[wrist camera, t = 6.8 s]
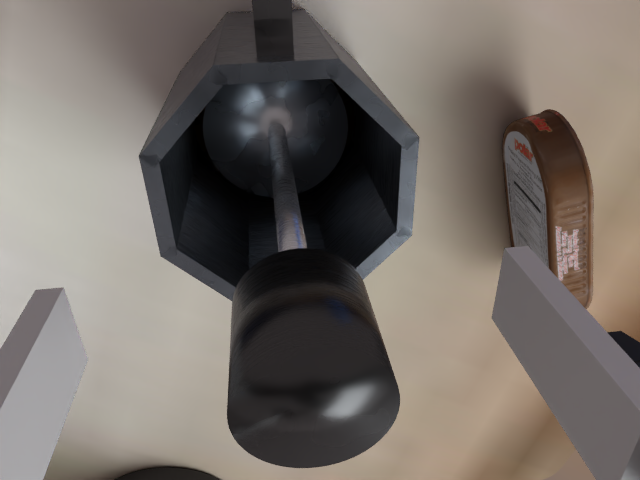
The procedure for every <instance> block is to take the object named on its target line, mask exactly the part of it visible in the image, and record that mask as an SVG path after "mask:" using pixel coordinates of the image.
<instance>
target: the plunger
mask: <svg viewBox="0 0 640 480" xmlns="http://www.w3.org/2000/svg"><path fill="white" fill-rule="evenodd" d="M347 135H348V119H347V114H346V109H345V106H344V103H343V100H342V98H341V96H340V94H339V92H338V91H337V89H336V87H335V86H334V84H333V83H332V81H331V80H330V79H315V80H297V81H279V82H261V83H243V84H224V85H223V86H222V87H221V88H220V89H219V91H218V92H217V93H216V94H215V95H214V97H213V98H212V99H211V100H210V101H209V103H208V104H207V105H206V107H205V112H204V117H203V137H204V141H205V146H206V148H207V151H208V154H209V156H210V158H211V160H212V162H213V163H214V165H215V166H216V168H217V169H218V170H219V171H220V172H221V174H222V175H223V176H224V177H225V178H227V179H228V180H229V181H230V182H231V183H233V184H234V185H236V186H237V187H239V188H241V189H243V190H245V191H247V192H250V193H253V194H256V195H261V196H267V197H274V208H275V219H276V230H277V241H278V251H279V252H277V253H275V254H272V255H270V256H268V257H266V258H264V259H262V260H260V261H259V262H257V263H256V264H254V265H253V266H252V267H251V268H250V269H249V270H248V271H247V272H246V273H245V274H244V275H243V277H242V278H241V280H240V281H239V283H238V285H237V287H236V289H235V292H234V295H233V301H232V318H231V340H230V362H229V384H228V405H227V419H228V425H229V429H230V431H231V433H232V435H233V437H234V439H235V440H236V441H237V443H238V444H239V445H240V446H241V447H242V448H243V449H244V450H246V451H247V452H248V453H250V454H251V455H253V456H255V457H256V458H258V459H261V460H263V461H265V462H268V463H271V464H275V465H279V466H284V467H293V468H312V467H321V466H327V465H331V464H336V463H339V462H342V461H345V460H348V459H350V458H352V457H355V456H357V455H359V454H361V453H362V452H364V451H366V450H367V449H369V448H370V447H372V446H373V445H375V444H376V443H377V442H378V441H379V440H380V439H381V438H382V437H383V436H384V435H385V434H386V433H387V432H388V430H389V429H390V428H391V426H392V425H393V423H394V421H395V419H396V417H397V414H398V411H399V405H400V394H399V389H398V385H397V382H396V379H395V376H394V373H393V370H392V367H391V364H390V361H389V358H388V355H387V352H386V349H385V346H384V342H383V339H382V336H381V333H380V330H379V327H378V324H377V321H376V318H375V315H374V312H373V309H372V306H371V303H370V300H369V297H368V294H367V290H366V287H365V285H364V282H363V280H362V278H361V276H360V274H359V273H358V272H357V270H356V269H355V268H354V267H353V266H352V265H351V264H350V263H349V262H347V261H346V260H344V259H343V258H341V257H339V256H337V255H335V254H333V253H330V252H327V251H324V250H319V249H311V248H307V245H306V240H305V234H304V229H303V223H302V218H301V212H300V207H299V201H298V196H297V194H299V193H301V192H304V191H306V190H308V189H310V188H312V187H314V186H316V185H317V184H318V183H320V182H321V181H322V180H324V179H325V178H326V177H327V176H328V175H329V174H330V173H331V172H332V170H333V169H334V168H335V166H336V165H337V163H338V162H339V160H340V158H341V156H342V154H343V151H344V148H345V146H346V141H347Z"/></svg>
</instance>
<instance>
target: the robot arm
mask: <svg viewBox="0 0 640 480" xmlns="http://www.w3.org/2000/svg"><path fill="white" fill-rule="evenodd" d="M492 319H493V321H494V322H495V324H496V325H497V327H498V329H499V330H500V332H501V333H502V335H503V336H504V338H505V339H506V341H507V342H508V344H509V346H510V347H511V349H512V350H513V352H514V353H515V355H516V356H517V358H518V360H519V361H520V363H521V364H522V366H523V367H524V369H525V370H526V372H527V374H528V375H529V377H530V378H531V380H532V381H533V383H534V384H535V386H536V387H537V389H538V391H539V392H540V394H541V395H542V397H543V398H544V400H545V401H546V403H547V405H548V406H549V408H550V409H551V411H552V412H553V414H554V415H555V417H556V418H557V420H558V422H559V423H560V425H561V426H562V428H563V429H564V431H565V432H566V434H567V436H568V437H569V439H570V440H571V442H572V443H573V445H574V446H575V448H576V450H577V451H578V453H579V454H580V456H581V457H582V459H583V460H584V461H585V463H586V465H587V467H588V468H589V470H590V471H591V473H592V474H593V476H594V477H595V479H596V480H640V342H638V341H636V340H635V339H633V338H631V337H630V336H628V335H627V334H625V333H623V332H622V331H617V332H606V331H605V330H604V328H603V327H602V326H601V325H600V324H599V323H598V322H597V321H596V320H595V319H594V318H593V316H592V315H591V314H590V313H589V312H588V311H587V310H586V309H585V308H584V307H583V305H582V304H581V303H580V302H579V301H578V300H577V299H576V298H575V297H574V296H573V295H572V293H571V292H570V291H569V290H568V289H567V288H566V287H565V286H564V285H563V284H562V282H561V281H560V280H559V279H558V278H557V277H556V276H555V275H554V274H553V273H552V272H551V270H550V269H549V268H548V267H547V266H546V265H545V264H544V263H543V262H542V261H541V259H540V258H539V257H538V256H537V255H536V254H535V253H534V252H533V251H532V250H531V249H530V247H529V246H521V247H510V248H504V253H503V258H502V264H501V270H500V275H499V281H498V286H497V292H496V297H495V303H494V308H493V314H492ZM87 361H88V358H87V355H86V352H85V349H84V346H83V343H82V340H81V337H80V334H79V331H78V328H77V325H76V322H75V319H74V316H73V314H72V311H71V308H70V305H69V302H68V299H67V296H66V293H65V290H64V288H53V289H42V290H35V292H34V294H33V295H32V297H31V299H30V300H29V302H28V304H27V305H26V307H25V309H24V310H23V312H22V314H21V315H20V317H19V319H18V321H17V322H16V324H15V326H14V327H13V329H12V331H11V332H10V334H9V336H8V337H7V339H6V341H5V342H4V344H3V346H2V347H1V349H0V480H43V479H44V476H45V473H46V471H47V468H48V465H49V463H50V460H51V457H52V455H53V452H54V449H55V447H56V444H57V441H58V439H59V436H60V433H61V430H62V428H63V425H64V422H65V420H66V417H67V414H68V412H69V409H70V406H71V404H72V401H73V398H74V396H75V393H76V390H77V388H78V385H79V382H80V380H81V377H82V374H83V372H84V369H85V366H86V364H87ZM116 480H219V479H217V478H215V477H213V476H211V475H208V474H205V473H202V472H199V471H195V470H190V469H183V468H153V469H146V470H141V471H137V472H133V473H130V474H127V475H124V476H122V477H120V478H118V479H116Z"/></svg>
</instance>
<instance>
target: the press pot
mask: <svg viewBox="0 0 640 480" xmlns="http://www.w3.org/2000/svg"><path fill="white" fill-rule="evenodd" d="M252 5H253V12H230V13H228V12H227V13H226V15H225V16H224V17H223V19H222V20H221V21H220V22H219V24H218V25H217V26H216V27H215V29H214V30H213V31H212V32H211V34H210V35H209V36H208V37H207V39H206V40H205V41H204V43H203V44H202V45H201V46H200V48H199V49H198V50H197V51H196V53H195V54H194V55H193V56H192V58H191V59H190V60H189V62H188V63H187V64H186V65H185V67H184V68H183V69H182V70H181V71H180V73H179V75H178V77H177V79H176V81H175V83H174V85H173V87H172V89H171V91H170V93H169V95H168V97H167V99H166V101H165V104H164V106H163V108H162V110H161V112H160V114H159V116H158V118H157V120H156V122H155V124H154V126H153V128H152V130H151V132H150V134H149V136H148V138H147V140H146V142H145V144H144V146H143V148H142V150H141V152H140V154H139V159H140V163H141V168H142V172H143V177H144V182H145V186H146V191H147V195H148V200H149V205H150V209H151V214H152V218H153V223H154V227H155V232H156V237H157V241H158V246H159V250H160V255H161V257H163V258H164V259H166V260H168V261H169V262H171V263H172V264H174V265H176V266H177V267H179V268H180V269H182V270H184V271H185V272H187V273H188V274H190V275H192V276H193V277H195V278H196V279H198V280H199V281H201V282H203V283H204V284H206V285H207V286H209V287H211V288H212V289H214V290H215V291H217V292H219V293H220V294H222V295H223V296H225V297H226V298H228V299H230V300H231V301H233V295H234V292H235V289H236V287H237V285H238V283H239V281H240V280H241V278H242V277H243V275H244V274H245V273H246V272H247V271H248V270H249V269H250V268H251V267H252V266H253V265H254V264H256V263H257V262H259V261H260V260H262V259H264V258H266V257H268V256H270V255H272V254H275V253H277V252H279V251H278V241H277V230H276V219H275V208H274V197H267V196H261V195H256V194H253V193H250V192H247V191H245V190H243V189H241V188H239V187H237V186H236V185H234V184H233V183H231V182H230V181H229V180H228V179H227V178H225V177H224V176H223V175H222V174H221V172H220V171H219V170H218V169H217V168H216V166H215V165H214V163H213V162H212V160H211V158H210V156H209V154H208V151H207V148H206V146H205V141H204V137H203V117H204V112H205V107H206V105H207V104H208V103H209V101H210V100H211V99H212V98H213V97H214V95H215V94H216V93H217V92H218V91H219V89H220V88H221V87H222V86H223V85H224V84H243V83H261V82H279V81H297V80H315V79H330V80H331V81H332V83H333V84H334V86H335V87H336V89H337V91H338V92H339V94H340V96H341V98H342V100H343V103H344V106H345V109H346V114H347V119H348V135H347V141H346V146H345V148H344V151H343V154H342V156H341V158H340V160H339V162H338V163H337V165H336V166H335V168H334V169H333V170H332V172H331V173H330V174H329V175H328V176H327V177H326V178H325V179H324V180H322V181H321V182H320V183H318V184H317V185H316V186H314V187H312V188H310V189H308V190H306V191H304V192H301V193H299V194H297V196H298V201H299V207H300V212H301V218H302V223H303V229H304V234H305V240H306V245H307V248H311V249H319V250H324V251H327V252H330V253H333V254H335V255H337V256H339V257H341V258H343V259H344V260H346V261H347V262H349V263H350V264H351V265H352V266H353V267H354V268H355V269H356V270H357V272H358V273H359V274H360V276H361V278H362V280H363V279H364V278H365V277H366V276H367V275H368V274H370V273H371V272H372V271H373V270H374V269H375V268H376V267H377V266H378V265H380V264H381V263H382V262H383V261H384V260H385V259H386V258H387V257H388V256H389V255H391V254H392V253H393V252H394V251H395V250H396V249H397V248H398V247H399V246H401V245H402V244H403V243H404V242H405V241H406V240H407V239H408V238H409V237H411V236H412V225H413V212H414V199H415V186H416V173H417V160H418V147H419V136H418V135H417V134H416V133H415V131H414V130H413V129H412V128H411V127H410V125H409V124H408V123H407V122H406V121H405V119H404V118H403V117H402V116H401V115H400V113H399V112H398V111H397V110H396V108H395V107H394V106H393V105H392V104H391V102H390V101H389V100H388V99H387V98H386V96H385V95H384V94H383V93H382V92H381V90H380V89H379V88H378V87H377V85H376V84H375V83H374V82H373V81H372V79H371V78H370V77H369V76H368V75H367V73H366V72H365V71H364V70H363V69H362V67H361V66H360V65H359V64H358V62H356V61H355V60H354V59H353V58H352V57H351V56H350V55H349V54H348V53H347V52H346V51H345V50H344V49H343V48H342V47H341V46H340V45H339V44H338V43H337V42H336V41H335V40H334V39H333V38H332V37H331V36H330V35H329V34H328V33H327V32H326V31H325V30H324V29H323V28H322V27H321V26H320V25H319V24H318V23H317V22H316V21H315V20H314V19H313V18H312V17H311V15H310V14H309V13H308V12H307V11H306V10H305V9H299V10H292V3H291V0H252Z"/></svg>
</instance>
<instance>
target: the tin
mask: <svg viewBox="0 0 640 480" xmlns="http://www.w3.org/2000/svg"><path fill="white" fill-rule="evenodd" d="M502 152H503V165H504V176H505V188H506V199H507V209H508V219H509V228H510V237H511V243H512V247H521V246H529V247H530V249H531V250H532V251H533V252H534V253H535V254H536V255H537V256H538V257H539V258H540V259H541V261H542V262H543V263H544V264H545V265H546V266H547V267H548V268H549V269H550V270H551V272H552V273H553V274H554V275H555V276H556V277H557V278H558V279H559V280H560V281H561V282H562V284H563V285H564V286H565V287H566V288H567V289H568V290H569V291H570V292H571V293H572V295H573V296H574V297H575V298H576V299H577V300H578V301H579V302H580V303H581V304H582V305H583V307H584V308H585V309H587V308H588V307H589V306H590V303H591V301H592V296H593V210H594V200H593V186H592V180H591V174H590V170H589V166H588V163H587V159H586V156H585V153H584V150H583V148H582V145H581V143H580V141H579V139H578V137H577V135H576V133H575V131H574V129H573V128H572V127H571V125H570V124H569V122H568V121H567V120H566V119H565V118H564V116H563V115H561V114H560V113H559V112H557V111H555V110H550V109H549V110H545V111H543V112H541V113H540V114H536V115H532V116H529V117H525V118H522V119H519V120H516V121H514V122H512V123H511V124H510V125H509V126H508V127H507V128H506V130H505V133H504V137H503V145H502Z"/></svg>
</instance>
